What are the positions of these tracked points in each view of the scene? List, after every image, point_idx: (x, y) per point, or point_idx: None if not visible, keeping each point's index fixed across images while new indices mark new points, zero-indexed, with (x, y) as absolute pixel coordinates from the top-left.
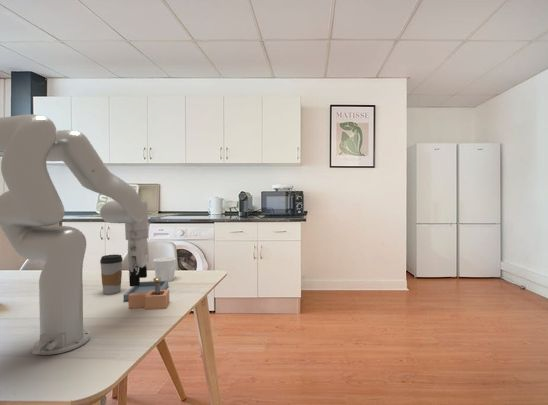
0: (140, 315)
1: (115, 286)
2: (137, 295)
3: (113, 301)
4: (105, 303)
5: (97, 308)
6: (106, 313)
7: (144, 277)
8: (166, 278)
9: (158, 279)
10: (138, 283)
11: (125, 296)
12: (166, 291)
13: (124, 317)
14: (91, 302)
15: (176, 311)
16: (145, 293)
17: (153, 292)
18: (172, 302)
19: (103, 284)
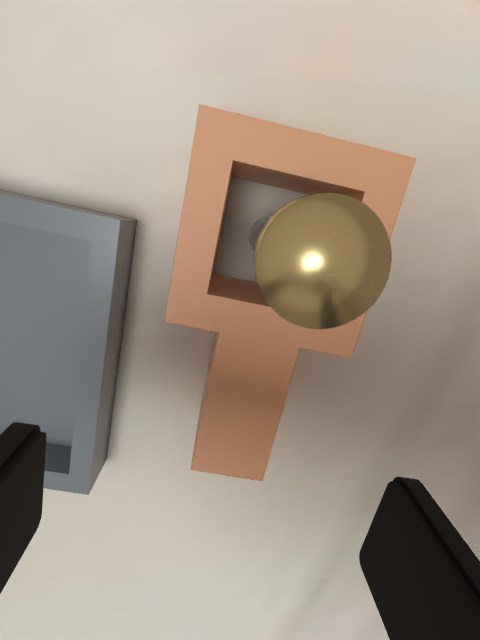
0: (419, 345)
1: None
2: (279, 417)
3: (79, 512)
4: (107, 545)
5: (186, 567)
6: (291, 517)
7: (44, 447)
8: None
9: (387, 245)
10: (430, 507)
11: (94, 474)
12: (263, 143)
13: (405, 427)
14: (65, 608)
15: (476, 90)
16: (251, 357)
17: (208, 283)
18: (242, 110)
19: None
